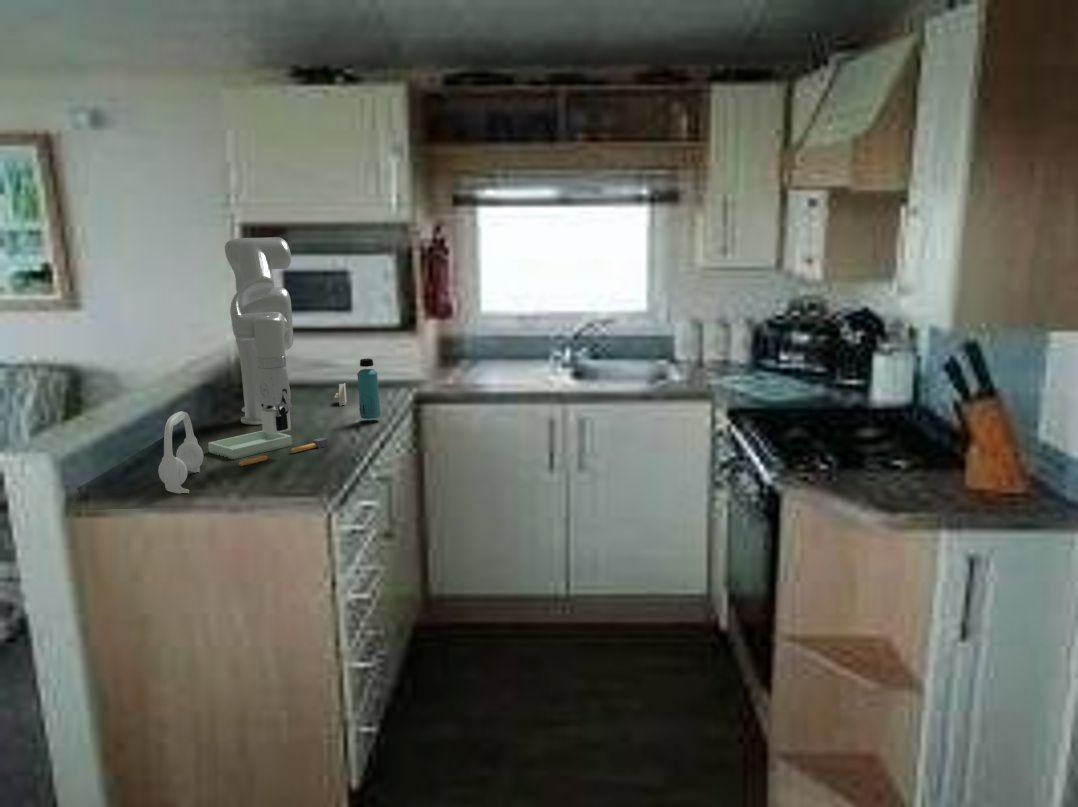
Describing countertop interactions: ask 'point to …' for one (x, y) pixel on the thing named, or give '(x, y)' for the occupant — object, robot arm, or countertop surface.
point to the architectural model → (341, 394)
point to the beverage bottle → (368, 391)
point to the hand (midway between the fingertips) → (276, 427)
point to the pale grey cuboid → (272, 421)
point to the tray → (249, 444)
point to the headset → (179, 455)
